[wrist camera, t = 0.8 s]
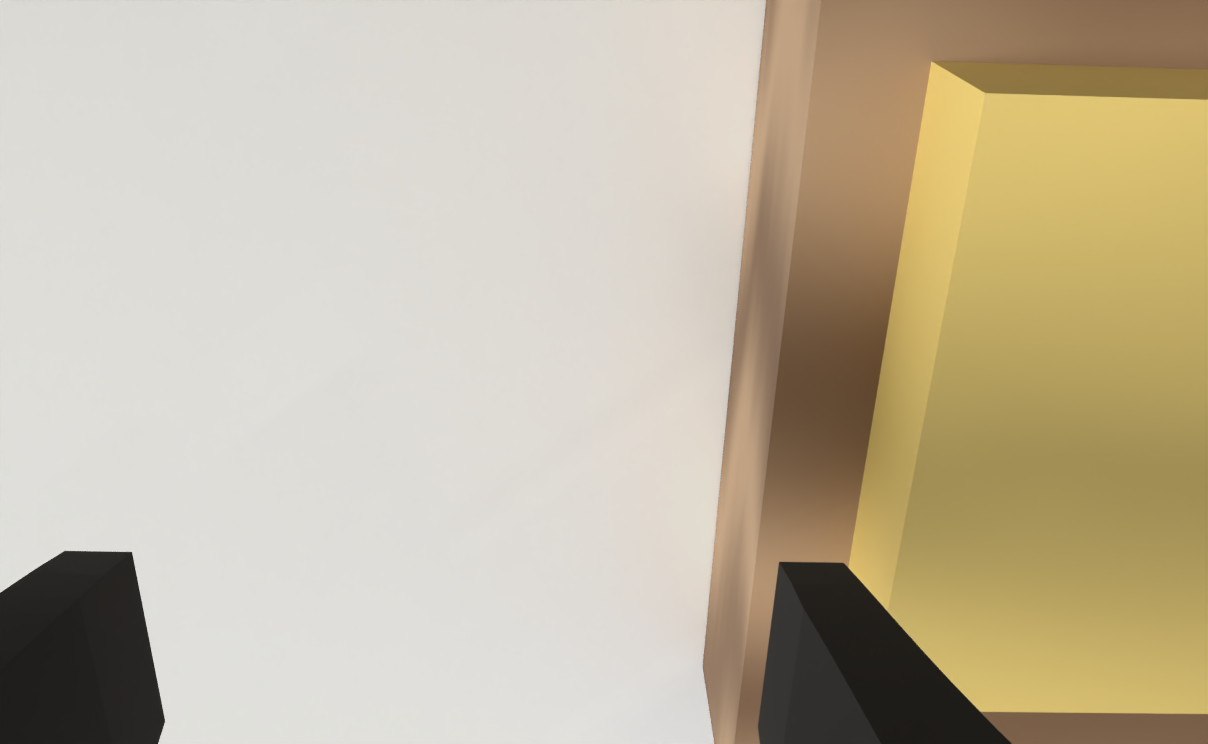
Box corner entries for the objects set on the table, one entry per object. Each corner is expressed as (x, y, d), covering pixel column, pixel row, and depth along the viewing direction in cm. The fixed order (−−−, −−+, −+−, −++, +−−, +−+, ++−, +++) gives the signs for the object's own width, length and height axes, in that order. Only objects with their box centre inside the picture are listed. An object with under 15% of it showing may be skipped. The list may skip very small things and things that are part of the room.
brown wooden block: (1200, 672, 23) (1313, 821, 20) (702, 666, 23) (726, 817, 19) (1546, -285, 15) (1837, -326, 12) (796, -317, 15) (864, -369, 12)
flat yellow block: (1196, 627, 18) (1266, 714, 16) (839, 622, 18) (868, 710, 16) (1390, 75, 14) (1512, 108, 12) (931, 61, 14) (985, 93, 12)
